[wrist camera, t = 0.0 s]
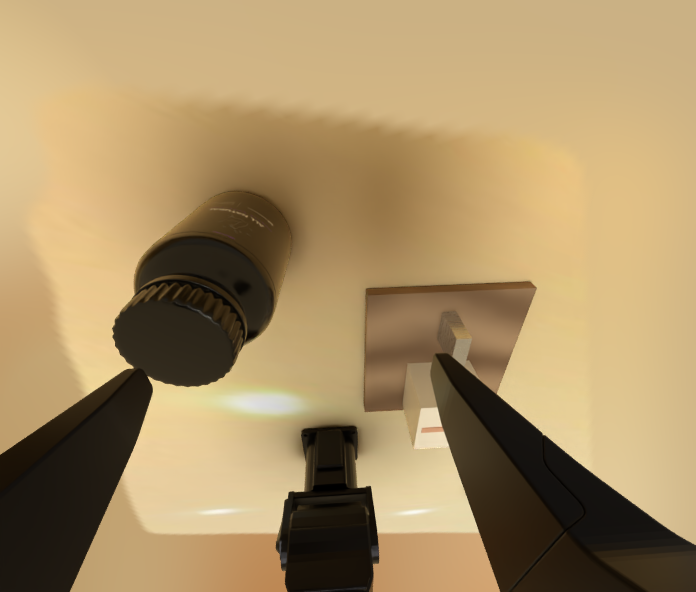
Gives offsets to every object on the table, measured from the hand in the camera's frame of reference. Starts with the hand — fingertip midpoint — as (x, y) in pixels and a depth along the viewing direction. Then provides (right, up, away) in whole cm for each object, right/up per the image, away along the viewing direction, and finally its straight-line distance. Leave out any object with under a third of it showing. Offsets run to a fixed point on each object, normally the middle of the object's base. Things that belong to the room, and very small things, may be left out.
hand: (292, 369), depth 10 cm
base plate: (+10, -3, +20) cm, 23 cm away
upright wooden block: (+10, 0, +17) cm, 20 cm away
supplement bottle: (-6, +7, +13) cm, 16 cm away
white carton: (+11, -6, +21) cm, 25 cm away
